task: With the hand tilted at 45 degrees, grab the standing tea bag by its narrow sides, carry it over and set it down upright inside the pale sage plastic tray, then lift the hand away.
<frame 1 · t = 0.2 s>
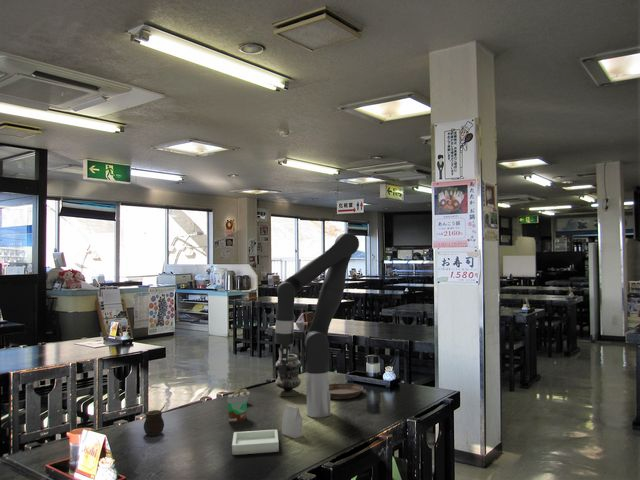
hand: (283, 372, 203), 18 cm above the table, tool pointing down, fingers open, 8 cm apart
apothecary jar: (288, 394, 238), on the table
mate gourd: (154, 434, 186), on the table
tray: (255, 446, 171), on the table
food container: (240, 420, 201), on the table
plant saucer: (341, 395, 235), on the table
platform: (240, 406, 223), on the table
tea bag: (292, 435, 181), on the table
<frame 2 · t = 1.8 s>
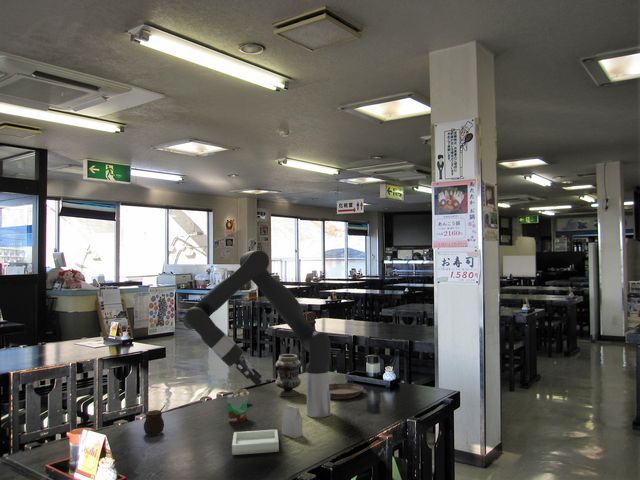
hand: (259, 381, 182), 19 cm above the table, tool tilted 45°, fingers open, 8 cm apart
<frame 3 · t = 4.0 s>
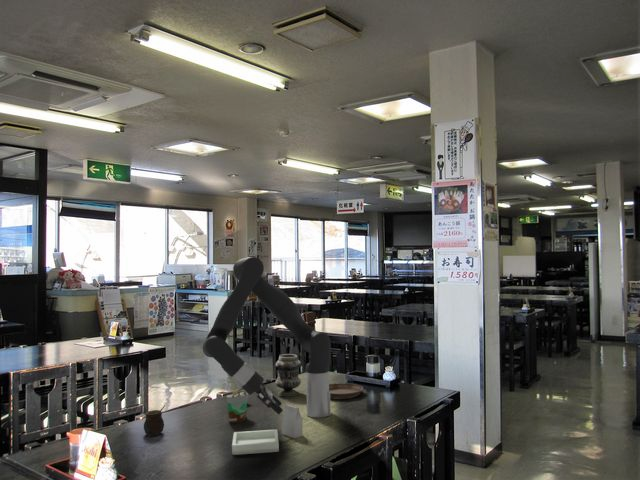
hand: (280, 408, 181), 9 cm above the table, tool tilted 45°, fingers open, 8 cm apart
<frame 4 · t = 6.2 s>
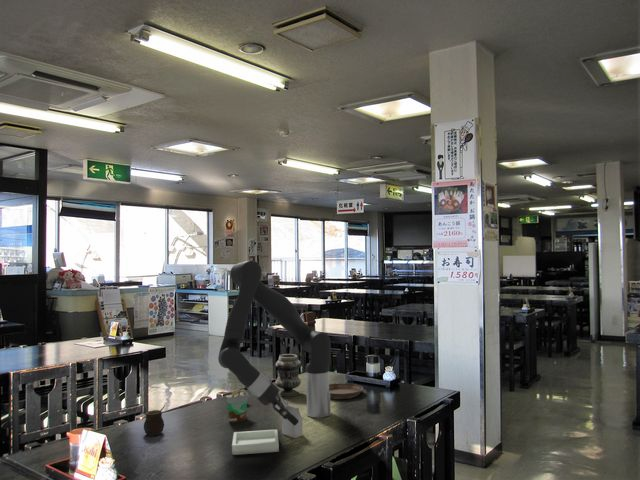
hand: (296, 419, 182), 5 cm above the table, tool tilted 45°, fingers closed on tea bag, 7 cm apart
tea bag: (292, 435, 181), on the table, touching gripper
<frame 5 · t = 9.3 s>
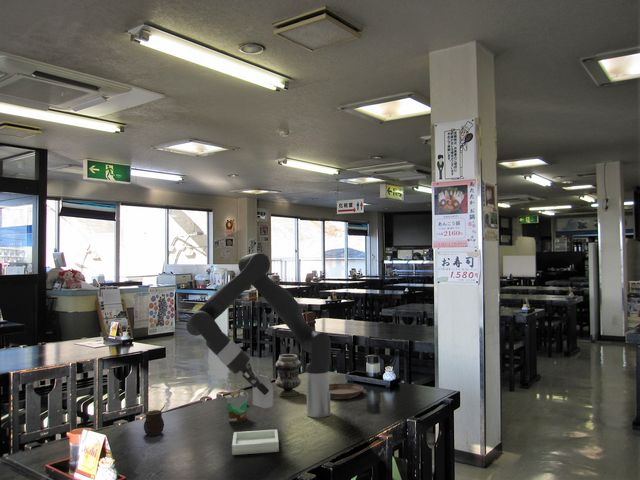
hand: (266, 390, 174), 18 cm above the table, tool tilted 45°, fingers closed on tea bag, 7 cm apart
tea bag: (262, 406, 174), point 13 cm above the table, touching gripper
when the fingers open (7 cm above the table, at t = 12.7 s): tea bag drops 1 cm, resting on tray.
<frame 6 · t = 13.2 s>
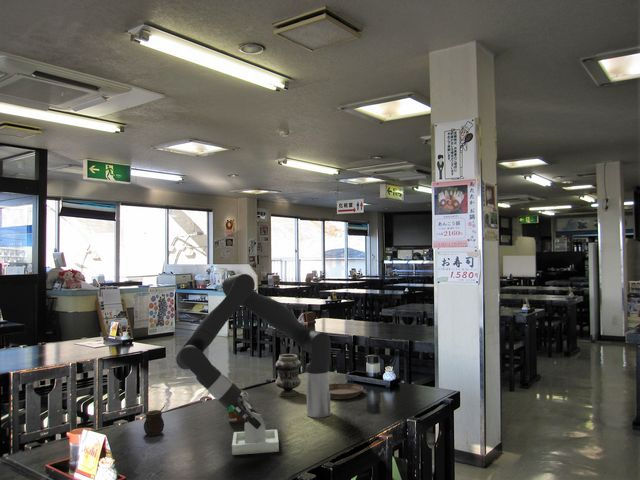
hand: (259, 422, 171), 8 cm above the table, tool tilted 45°, fingers open, 8 cm apart
tea bag: (255, 443, 171), point 1 cm above the table, touching tray
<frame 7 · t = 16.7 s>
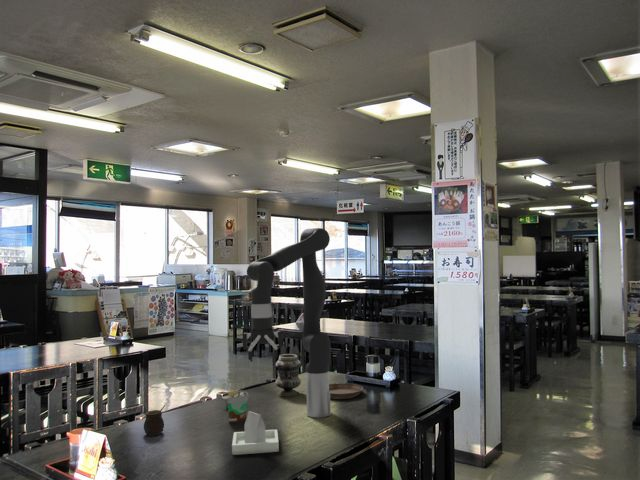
hand: (263, 360, 186), 26 cm above the table, tool pointing down, fingers open, 8 cm apart
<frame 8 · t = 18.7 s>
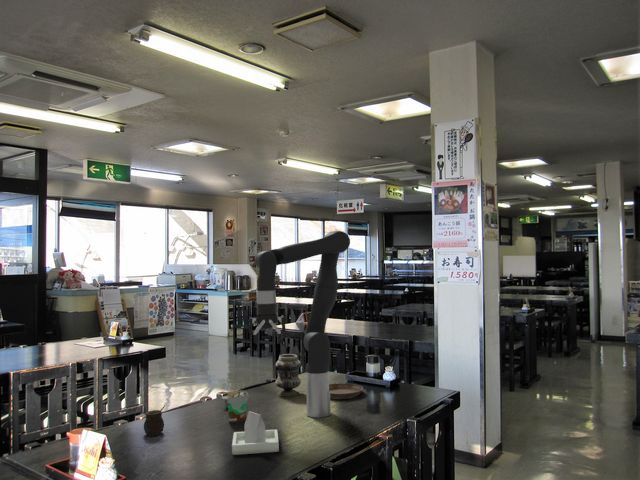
hand: (267, 343, 198), 30 cm above the table, tool pointing down, fingers open, 8 cm apart
at the end: tea bag inside the target area on the tray (0.2 cm from its centre), point 0.8 cm above the tray's base; tea bag tilted 0°; the gripper is holding nothing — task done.
